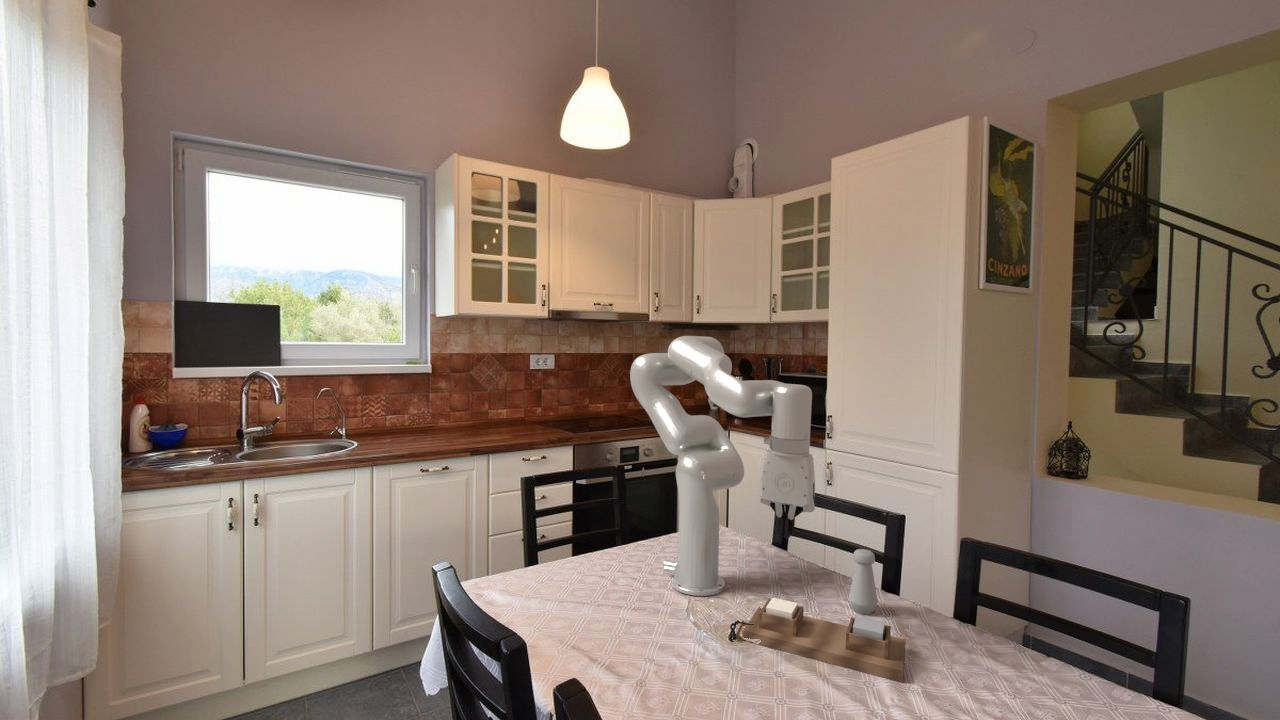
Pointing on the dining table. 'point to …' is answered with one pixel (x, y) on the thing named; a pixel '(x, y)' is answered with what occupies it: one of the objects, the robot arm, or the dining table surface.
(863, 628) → the grey key
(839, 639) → the key panel
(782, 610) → the cream key
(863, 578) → the salt shaker
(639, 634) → the dining table surface
